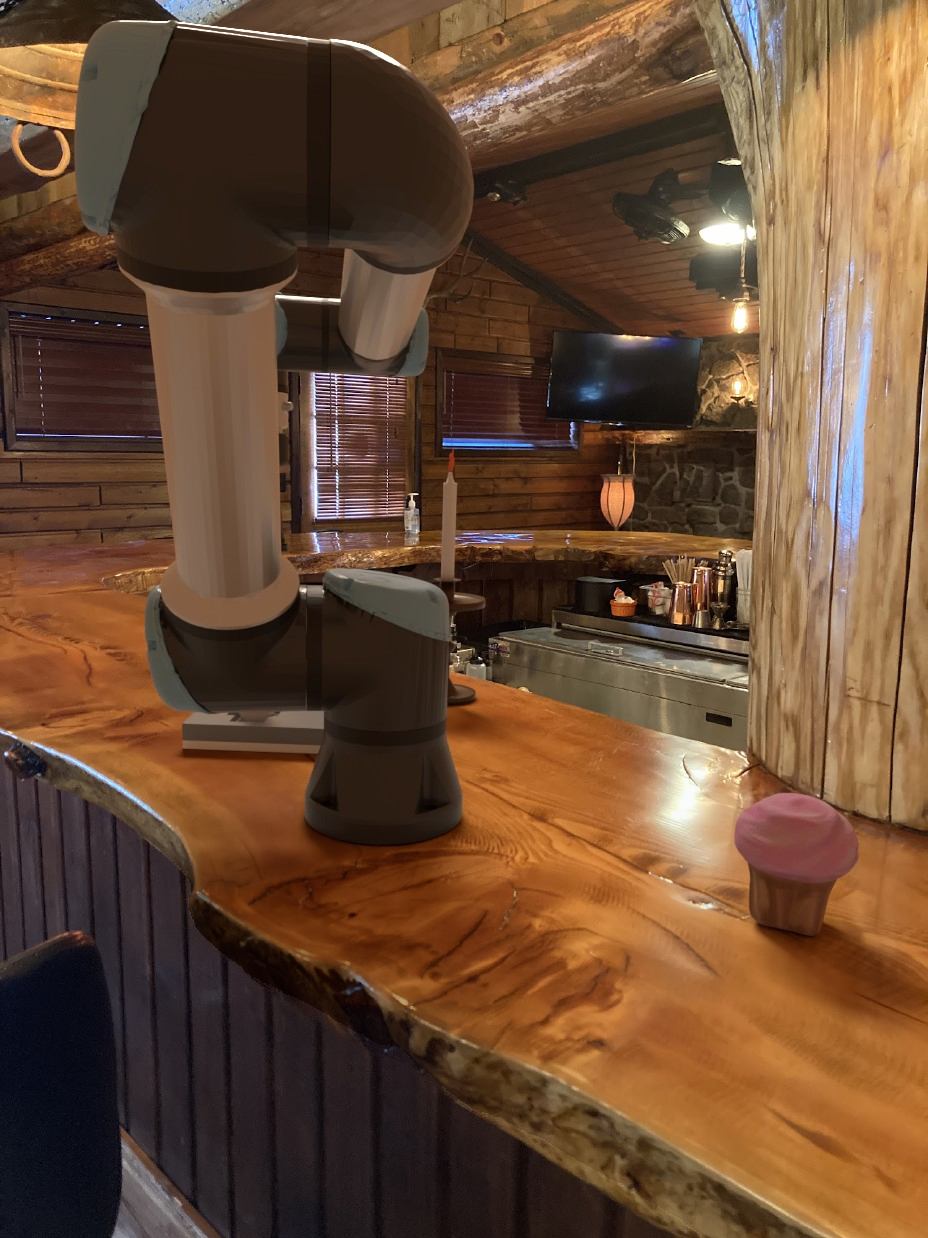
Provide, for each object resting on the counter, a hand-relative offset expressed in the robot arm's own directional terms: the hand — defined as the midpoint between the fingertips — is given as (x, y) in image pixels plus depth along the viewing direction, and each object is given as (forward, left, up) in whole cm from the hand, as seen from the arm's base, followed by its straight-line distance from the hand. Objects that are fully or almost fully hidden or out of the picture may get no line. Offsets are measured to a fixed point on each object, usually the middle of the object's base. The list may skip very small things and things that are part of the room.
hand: (256, 612), depth 110 cm
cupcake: (-42, -51, -15) cm, 68 cm away
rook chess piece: (0, 0, -14) cm, 14 cm away
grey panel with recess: (0, -6, -15) cm, 16 cm away
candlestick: (+20, -22, -15) cm, 34 cm away
